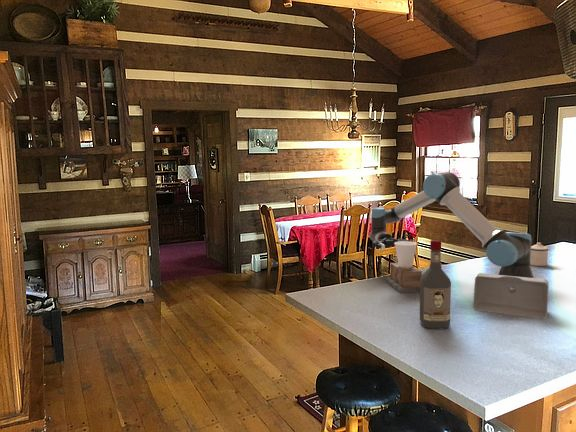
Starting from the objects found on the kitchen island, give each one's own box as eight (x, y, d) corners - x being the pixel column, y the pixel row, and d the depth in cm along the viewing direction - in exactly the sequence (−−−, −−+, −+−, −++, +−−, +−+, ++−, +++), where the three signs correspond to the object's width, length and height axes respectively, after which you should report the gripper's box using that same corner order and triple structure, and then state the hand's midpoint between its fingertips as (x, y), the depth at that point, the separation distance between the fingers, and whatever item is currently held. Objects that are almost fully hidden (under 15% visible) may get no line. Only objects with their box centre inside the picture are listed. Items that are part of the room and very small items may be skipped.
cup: (414, 264, 217) (414, 241, 215) (418, 269, 207) (418, 245, 206) (392, 264, 218) (393, 241, 216) (395, 269, 208) (395, 245, 207)
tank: (547, 306, 181) (548, 275, 180) (546, 319, 167) (548, 285, 166) (478, 298, 193) (479, 269, 192) (472, 309, 180) (473, 278, 178)
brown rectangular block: (386, 281, 222) (386, 263, 221) (410, 280, 223) (411, 262, 222) (399, 292, 204) (399, 272, 203) (425, 291, 205) (426, 271, 204)
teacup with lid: (547, 263, 251) (548, 241, 249) (547, 266, 243) (548, 244, 241) (522, 261, 256) (523, 240, 255) (522, 265, 248) (522, 243, 247)
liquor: (418, 320, 169) (419, 238, 166) (443, 319, 169) (445, 238, 165) (424, 329, 160) (425, 243, 157) (451, 329, 160) (453, 242, 156)
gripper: (407, 245, 244) (423, 253, 223) (360, 248, 241) (372, 256, 220) (407, 231, 243) (423, 238, 222) (360, 233, 240) (372, 240, 219)
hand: (398, 247), depth 221 cm, fingers open, 13 cm apart
